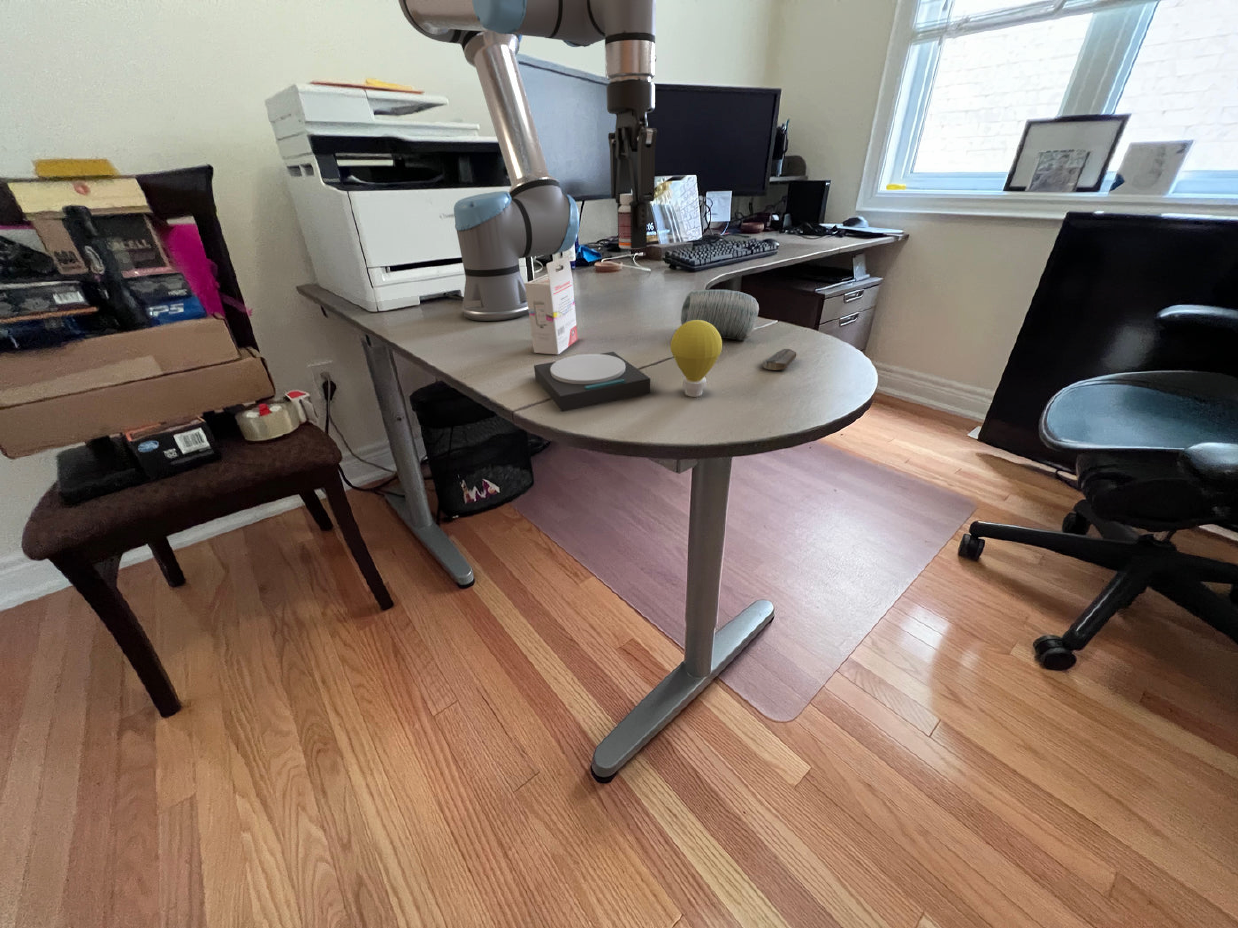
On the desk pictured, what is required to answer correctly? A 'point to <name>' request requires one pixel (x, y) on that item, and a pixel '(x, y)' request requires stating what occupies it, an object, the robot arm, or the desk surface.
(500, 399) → the desk surface
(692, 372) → the light bulb
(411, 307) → the desk surface
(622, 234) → the pill bottle
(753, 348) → the desk surface
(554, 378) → the scale
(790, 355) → the block
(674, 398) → the desk surface
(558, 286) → the ink cartridge box
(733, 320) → the spool
